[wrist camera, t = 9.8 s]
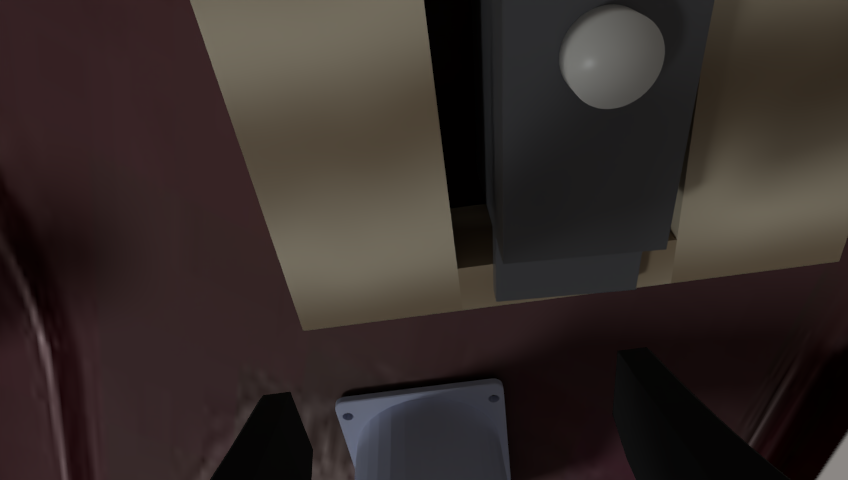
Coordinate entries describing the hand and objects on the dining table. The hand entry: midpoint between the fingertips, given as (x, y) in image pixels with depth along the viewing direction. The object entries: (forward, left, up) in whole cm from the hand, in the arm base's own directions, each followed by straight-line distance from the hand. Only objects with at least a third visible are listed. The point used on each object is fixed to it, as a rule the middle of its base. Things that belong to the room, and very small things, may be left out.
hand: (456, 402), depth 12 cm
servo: (+4, -4, -10) cm, 12 cm away
